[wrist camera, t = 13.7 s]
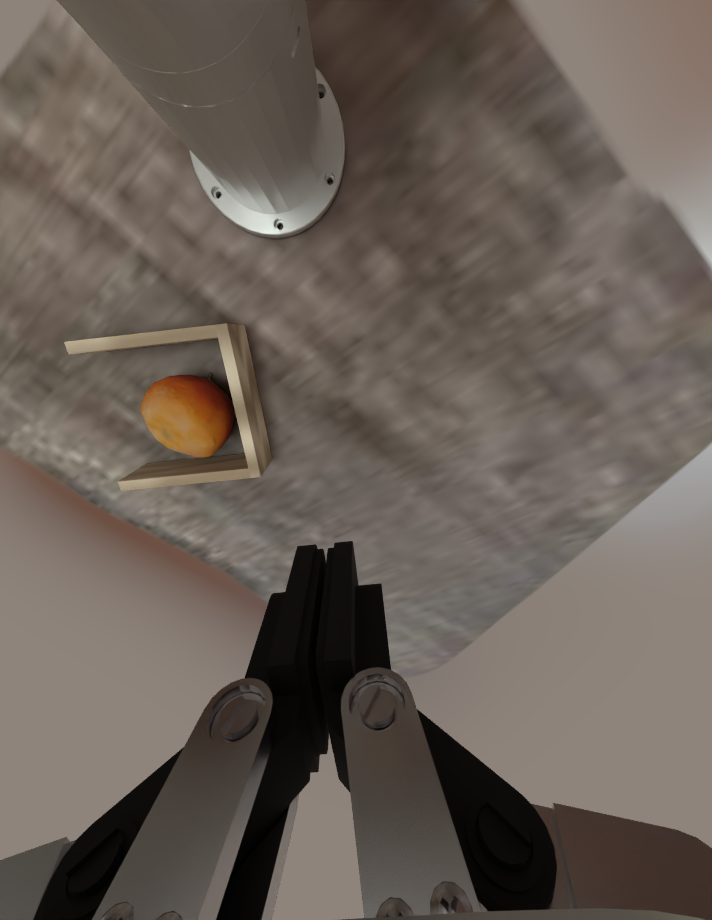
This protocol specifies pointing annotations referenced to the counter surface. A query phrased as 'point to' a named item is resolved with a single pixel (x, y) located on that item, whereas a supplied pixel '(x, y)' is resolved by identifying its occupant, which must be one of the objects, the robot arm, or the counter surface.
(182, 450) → the fruit
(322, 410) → the counter surface
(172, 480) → the box
